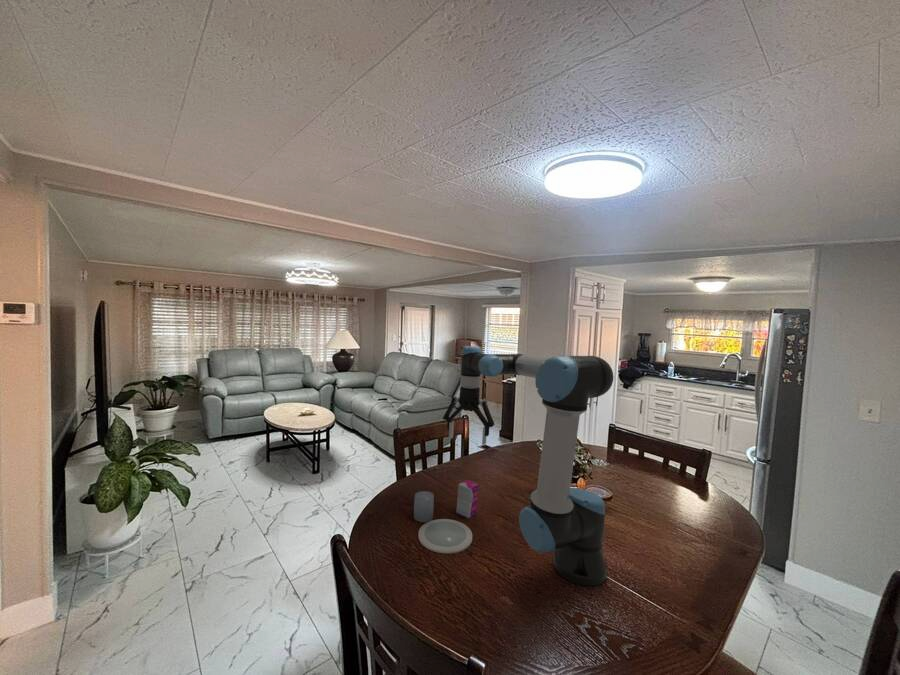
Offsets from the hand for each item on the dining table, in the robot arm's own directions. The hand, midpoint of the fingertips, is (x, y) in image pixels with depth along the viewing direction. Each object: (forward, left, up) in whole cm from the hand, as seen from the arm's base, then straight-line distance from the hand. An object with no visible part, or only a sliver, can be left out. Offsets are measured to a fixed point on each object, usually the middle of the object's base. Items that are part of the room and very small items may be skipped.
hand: (467, 441), depth 144 cm
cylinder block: (-1, +18, -26) cm, 31 cm away
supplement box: (-5, +2, -26) cm, 27 cm away
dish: (-15, +16, -26) cm, 34 cm away
